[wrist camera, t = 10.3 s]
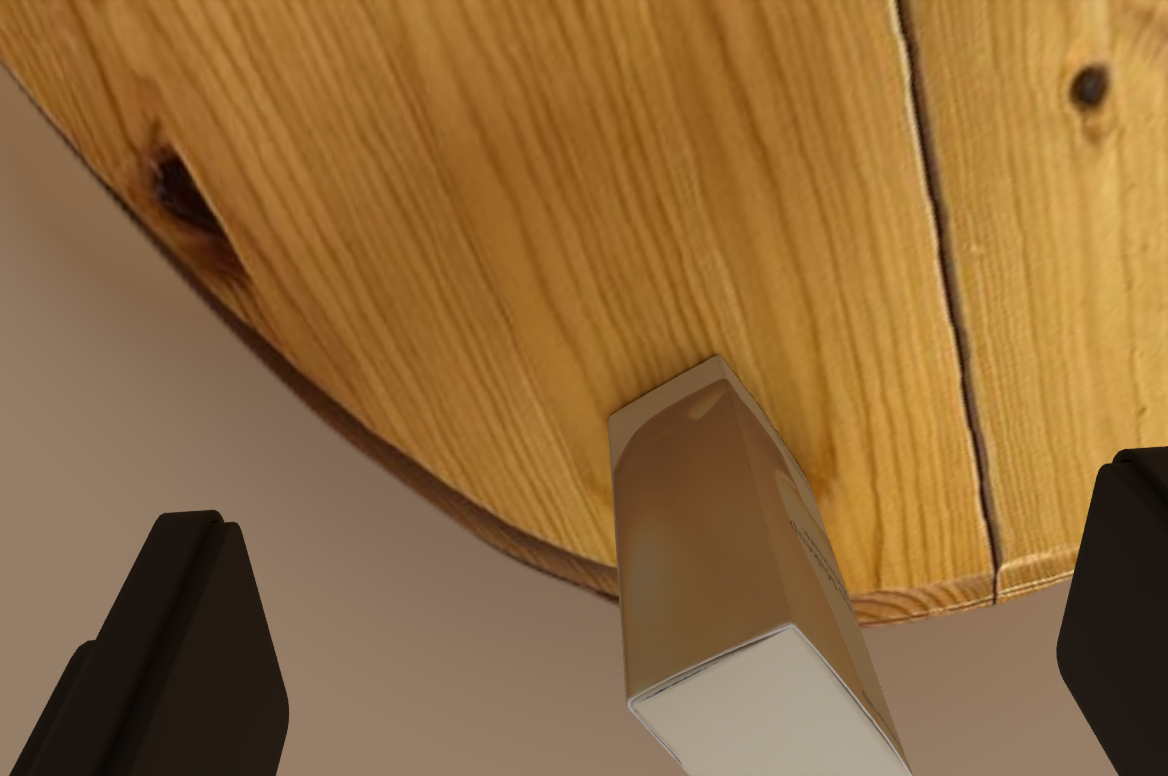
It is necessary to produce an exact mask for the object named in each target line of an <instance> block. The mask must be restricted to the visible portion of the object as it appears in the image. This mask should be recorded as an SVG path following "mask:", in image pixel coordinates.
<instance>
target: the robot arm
mask: <svg viewBox="0 0 1168 776" xmlns="http://www.w3.org/2000/svg"><path fill="white" fill-rule="evenodd" d="M1057 662H1058V667H1059V670H1060V673H1061V675H1062V678H1063V680H1064V682H1065V683H1066V685H1067V687H1068V688H1069V690H1070V692H1071V694H1072V696H1073V697H1074V699H1075V700H1076V702H1077V704H1078V706H1079V708H1080V709H1081V711H1082V713H1083V715H1084V716H1085V718H1086V720H1087V721H1088V723H1089V725H1090V726H1091V728H1092V730H1093V732H1094V734H1095V735H1096V737H1097V739H1098V740H1099V742H1100V744H1101V746H1102V747H1103V749H1104V751H1105V753H1106V754H1107V756H1108V758H1109V759H1110V761H1111V763H1112V765H1113V766H1114V768H1115V770H1116V772H1117V773H1118V775H1119V776H1168V446H1165V447H1150V448H1135V449H1124V450H1121V451H1119V452H1118V453H1117V454H1116V456H1115V457H1114V459H1113V462H1112V463H1110V464H1105V465H1103V466H1102V467H1101V468H1100V469H1099V472H1098V474H1097V478H1096V482H1095V486H1094V490H1093V494H1092V499H1091V503H1090V507H1089V511H1088V515H1087V520H1086V524H1085V528H1084V532H1083V536H1082V541H1081V545H1080V549H1079V553H1078V557H1077V562H1076V566H1075V570H1074V574H1073V579H1072V583H1071V587H1070V591H1069V595H1068V600H1067V604H1066V608H1065V613H1064V616H1063V621H1062V625H1061V629H1060V633H1059V637H1058V642H1057ZM288 722H289V705H288V697H287V693H286V689H285V686H284V682H283V679H282V675H281V671H280V668H279V664H278V661H277V657H276V653H275V650H274V646H273V643H272V639H271V635H270V632H269V628H268V624H267V621H266V617H265V614H264V610H263V607H262V603H261V600H260V596H259V592H258V588H257V585H256V581H255V578H254V574H253V570H252V567H251V564H250V560H249V556H248V552H247V549H246V545H245V542H244V538H243V535H242V531H241V529H240V526H239V525H238V524H237V523H235V522H226V523H224V520H223V518H222V516H221V515H220V513H219V512H218V511H216V510H204V511H189V512H174V513H164V514H162V515H160V516H159V517H158V519H157V520H156V522H155V524H154V525H153V527H152V529H151V531H150V533H149V535H148V537H147V539H146V541H145V543H144V545H143V547H142V549H141V551H140V553H139V555H138V557H137V559H136V561H135V563H134V565H133V567H132V569H131V571H130V573H129V575H128V577H127V579H126V581H125V583H124V585H123V587H122V588H121V590H120V592H119V594H118V596H117V598H116V600H115V602H114V604H113V607H112V608H111V610H110V612H109V614H108V616H107V618H106V620H105V622H104V624H103V626H102V629H101V630H100V632H99V634H98V636H97V638H96V640H91V641H87V642H85V643H84V644H82V645H81V646H79V647H78V649H77V650H76V652H75V653H74V655H73V656H72V657H71V659H70V661H69V663H68V665H67V667H66V668H65V670H64V672H63V674H62V676H61V678H60V680H59V682H58V684H57V686H56V687H55V689H54V691H53V693H52V695H51V697H50V699H49V701H48V703H47V705H46V707H45V708H44V710H43V712H42V714H41V716H40V718H39V720H38V722H37V724H36V726H35V728H34V729H33V731H32V733H31V735H30V737H29V739H28V741H27V743H26V745H25V747H24V748H23V750H22V752H21V754H20V756H19V758H18V760H17V762H16V764H15V766H14V768H13V769H12V772H11V773H10V775H9V776H276V773H277V769H278V765H279V761H280V757H281V754H282V750H283V746H284V742H285V738H286V734H287V730H288Z"/></svg>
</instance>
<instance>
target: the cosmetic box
mask: <svg viewBox="0 0 1168 776" xmlns="http://www.w3.org/2000/svg"><path fill="white" fill-rule="evenodd" d="M608 434H609V447H610V464H611V477H612V492H613V508H614V524H615V539H616V554H617V569H618V585H619V600H620V614H621V630H622V646H623V661H624V679H625V696H626V704H627V707H628V709H629V710H630V711H631V712H632V713H633V714H634V715H635V716H636V717H637V718H638V719H639V720H640V721H641V723H642V724H643V725H644V726H645V727H646V728H647V729H648V730H649V731H650V733H651V734H652V735H653V736H654V737H655V738H656V739H657V740H658V741H659V742H660V743H661V744H662V745H663V747H664V748H665V749H666V750H667V751H668V752H669V753H670V754H671V755H672V756H673V757H674V758H675V760H676V761H677V762H678V763H679V764H680V766H681V767H682V768H683V769H684V770H685V771H686V773H687V774H688V775H689V776H913V774H912V772H911V769H910V767H909V764H908V761H907V759H906V756H905V754H904V751H903V748H902V745H901V743H900V740H899V737H898V734H897V731H896V729H895V726H894V723H893V720H892V717H891V715H890V711H889V709H888V706H887V703H886V701H885V698H884V695H883V692H882V689H881V686H880V684H879V681H878V678H877V675H876V672H875V670H874V667H873V664H872V661H871V658H870V655H869V652H868V649H867V647H866V644H865V641H864V638H863V635H862V632H861V629H860V627H859V624H858V621H857V618H856V615H855V612H854V609H853V606H852V603H851V601H850V598H849V595H848V592H847V589H846V586H845V584H844V581H843V578H842V575H841V573H840V570H839V567H838V564H837V561H836V559H835V556H834V553H833V550H832V547H831V544H830V541H829V538H828V535H827V532H826V530H825V527H824V524H823V521H822V518H821V515H820V512H819V509H818V506H817V503H816V500H815V497H814V495H813V492H812V489H811V486H810V483H809V481H808V480H807V478H806V477H805V475H804V473H803V472H802V470H801V468H800V467H799V465H798V464H797V462H796V460H795V459H794V457H793V456H792V454H791V452H790V451H789V449H788V448H787V446H786V445H785V443H784V442H783V440H782V439H781V437H780V436H779V434H778V433H777V431H776V430H775V429H774V427H773V426H772V424H771V423H770V421H769V420H768V418H767V417H766V415H765V414H764V413H763V411H762V410H761V409H760V407H759V406H758V404H757V403H756V402H755V401H754V399H753V398H752V397H751V395H750V394H749V392H748V391H747V390H746V388H745V387H744V386H743V384H742V383H741V382H740V380H739V379H738V378H737V377H736V375H735V374H734V372H733V371H732V370H731V368H730V367H729V366H728V364H727V363H726V362H725V360H724V359H723V358H722V357H721V356H719V355H716V356H714V357H712V358H710V359H708V360H707V361H705V362H703V363H701V364H700V365H698V366H696V367H694V368H692V369H690V370H688V371H686V372H685V373H683V374H681V375H679V376H677V377H676V378H674V379H672V380H670V381H668V382H667V383H665V384H663V385H661V386H660V387H658V388H656V389H654V390H652V391H651V392H649V393H647V394H646V395H644V396H642V397H641V398H639V399H637V400H636V401H634V402H632V403H631V404H629V405H627V406H625V407H624V408H622V409H620V410H619V411H617V412H615V413H614V414H612V415H611V416H610V417H609V418H608Z"/></svg>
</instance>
